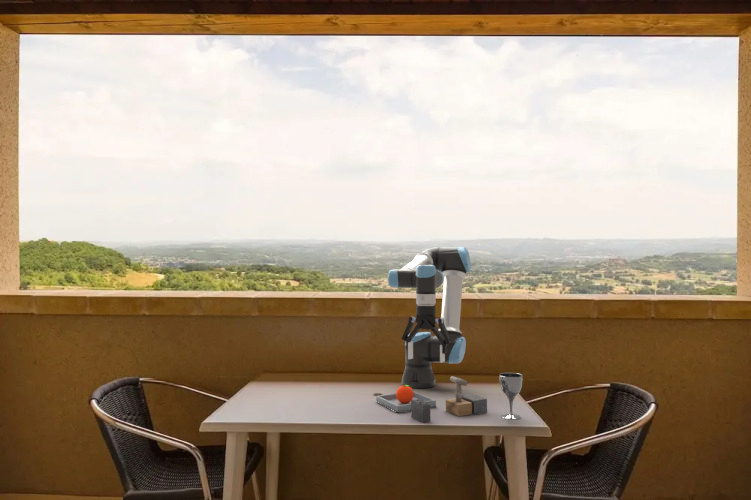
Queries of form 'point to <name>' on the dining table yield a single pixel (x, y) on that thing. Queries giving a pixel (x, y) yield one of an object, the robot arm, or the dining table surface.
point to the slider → (458, 400)
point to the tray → (397, 406)
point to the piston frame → (479, 404)
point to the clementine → (404, 394)
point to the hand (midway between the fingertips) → (426, 360)
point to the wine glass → (511, 391)
